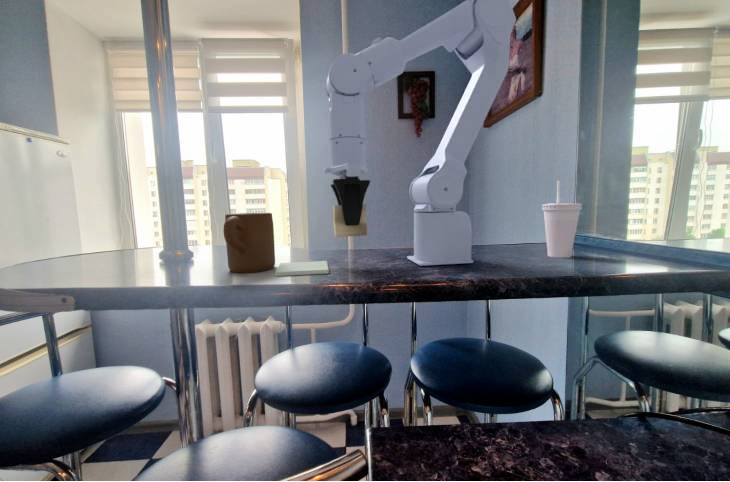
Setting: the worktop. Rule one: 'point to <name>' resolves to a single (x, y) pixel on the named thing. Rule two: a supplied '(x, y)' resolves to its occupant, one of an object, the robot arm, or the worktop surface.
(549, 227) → the smoothie
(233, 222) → the mug
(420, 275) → the worktop surface
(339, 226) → the oak block
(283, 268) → the coaster
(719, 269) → the worktop surface
